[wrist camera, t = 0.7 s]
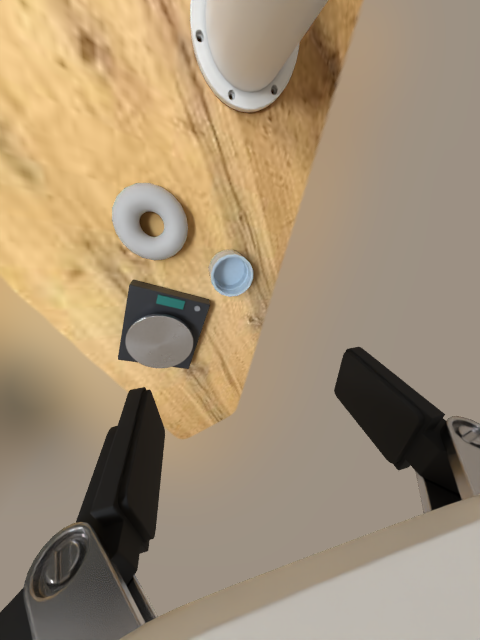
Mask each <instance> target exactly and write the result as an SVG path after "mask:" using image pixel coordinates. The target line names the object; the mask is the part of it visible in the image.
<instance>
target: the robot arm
mask: <svg viewBox="0 0 480 640" xmlns="http://www.w3.org/2000/svg"><path fill="white" fill-rule="evenodd" d="M327 1H328V0H191V4H190V25H191V38H192V43H193V48H194V52H195V56H196V59H197V62H198V65H199V68H200V70H201V72H202V74H203V76H204V79H205V81H206V82H207V84H208V85H209V87H210V88H211V90H212V91H213V93H214V94H215V95H216V96H217V97H218V98H219V99H220V100H221V101H222V102H223V103H225V104H226V105H228V106H229V107H230V108H233V109H235V110H238V111H242V112H256V111H259V110H261V109H264V108H266V107H267V106H269V105H270V104H271V103H273V102H274V101H275V100H276V99H277V97H278V96H279V95H280V94H281V93H282V91H283V90H284V88H285V87H286V85H287V83H288V81H289V80H290V78H291V76H292V73H293V70H294V67H295V64H296V60H297V55H298V51H299V43H300V41H301V39H302V38H303V36H304V35H305V33H306V32H307V31H308V29H309V28H310V26H311V25H312V23H313V22H314V20H315V19H316V17H317V16H318V15H319V13H320V12H321V10H322V9H323V7H324V6H325V4H326V3H327ZM198 38H199V39H200V40H201V42H198V40H197V39H198ZM271 91H273V94H272V93H271ZM229 96H232V100H230V99H229ZM334 391H335V394H336V396H337V398H338V399H339V400H340V401H341V403H342V404H343V405H344V407H345V408H346V409H347V410H348V411H349V413H350V414H351V415H352V417H353V418H354V419H355V420H356V422H357V423H358V424H359V425H360V427H361V428H362V429H363V430H364V432H365V433H366V434H367V436H368V437H369V438H370V439H371V440H372V442H373V443H374V444H375V446H376V447H377V448H378V449H379V451H380V452H381V453H382V454H383V456H384V457H385V458H386V459H387V460H388V461H389V462H390V463H393V464H394V466H395V467H396V468H397V469H398V470H401V469H404V468H407V467H409V466H410V465H411V466H412V467H413V468H414V469H415V471H416V476H417V481H418V487H419V491H420V497H421V502H422V507H423V512H424V514H422V515H419V516H416V517H414V518H411V519H408V520H405V521H403V522H400V523H397V524H394V525H392V526H389V527H386V528H384V529H381V530H378V531H376V532H373V533H370V534H368V535H365V536H362V537H360V538H357V539H354V540H351V541H349V542H346V543H344V544H341V545H338V546H335V547H333V548H330V549H328V550H325V551H322V552H320V553H317V554H314V555H312V556H309V557H306V558H304V559H301V560H298V561H296V562H293V563H291V564H288V565H285V566H283V567H280V568H277V569H275V570H272V571H269V572H267V573H264V574H261V575H259V576H256V577H254V578H251V579H248V580H246V581H243V582H241V583H238V584H235V585H233V586H230V587H228V588H225V589H223V590H220V591H218V592H215V593H213V594H210V595H208V596H205V597H203V598H200V599H198V600H196V601H193V602H191V603H188V604H186V605H183V606H181V607H179V608H176V609H174V610H172V611H170V612H168V613H166V614H163V615H161V616H159V617H158V616H157V614H156V612H155V610H154V608H153V607H152V605H151V603H150V601H149V599H148V597H147V596H146V594H145V592H144V590H143V588H142V586H141V585H140V583H139V581H138V579H137V578H136V576H135V573H136V571H137V568H138V560H139V554H140V553H143V552H146V551H148V547H149V540H150V539H153V538H154V536H155V530H156V520H157V510H158V500H159V490H160V480H161V469H162V460H163V450H164V439H165V430H164V426H163V423H162V420H161V418H160V415H159V412H158V409H157V406H156V404H155V401H154V398H153V395H152V392H151V390H146V388H145V387H143V388H138V389H133V390H130V391H129V393H128V395H127V398H126V402H125V405H124V408H123V411H122V414H121V417H120V420H119V423H118V426H115V427H112V428H111V429H110V430H109V432H108V434H107V436H106V439H105V442H104V445H103V448H102V450H101V453H100V456H99V459H98V461H97V464H96V467H95V470H94V473H93V476H92V478H91V481H90V484H89V487H88V490H87V492H86V495H85V498H84V501H83V504H82V507H81V510H80V512H79V515H78V518H77V521H76V523H73V524H71V525H69V526H67V527H66V528H63V529H62V530H61V531H59V532H58V533H57V534H55V535H54V536H53V537H52V538H51V539H50V540H49V541H48V542H47V543H46V545H45V546H44V547H43V548H42V549H41V551H40V552H39V554H38V555H37V557H36V558H35V560H34V561H33V563H32V566H31V567H30V569H29V571H28V573H27V577H26V580H25V584H24V588H23V589H22V590H21V591H20V592H19V593H18V594H17V595H16V596H15V598H14V599H13V600H12V601H11V602H10V603H9V604H8V605H7V606H6V607H5V608H4V609H3V610H2V611H1V612H0V640H480V424H479V423H477V422H475V421H473V420H470V419H467V418H464V417H459V416H452V417H450V418H448V419H447V421H445V420H444V419H443V417H444V415H445V414H444V413H443V412H441V411H440V410H439V409H438V408H436V407H435V406H434V405H433V404H431V403H430V402H429V401H427V400H426V399H425V398H424V397H422V396H421V395H420V394H419V393H417V392H416V391H415V390H414V389H412V388H411V387H410V386H409V385H407V384H406V383H405V382H404V381H402V380H401V379H400V378H399V377H397V376H396V375H395V374H394V373H392V372H391V371H390V370H389V369H387V368H386V367H385V366H384V365H382V364H381V363H380V362H379V361H377V360H376V359H375V358H374V357H372V356H371V355H370V354H369V353H367V352H366V351H365V350H363V349H362V348H361V347H355V348H350V349H347V350H346V352H345V353H344V355H343V358H342V362H341V366H340V370H339V374H338V378H337V382H336V385H335V390H334Z"/></svg>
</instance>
